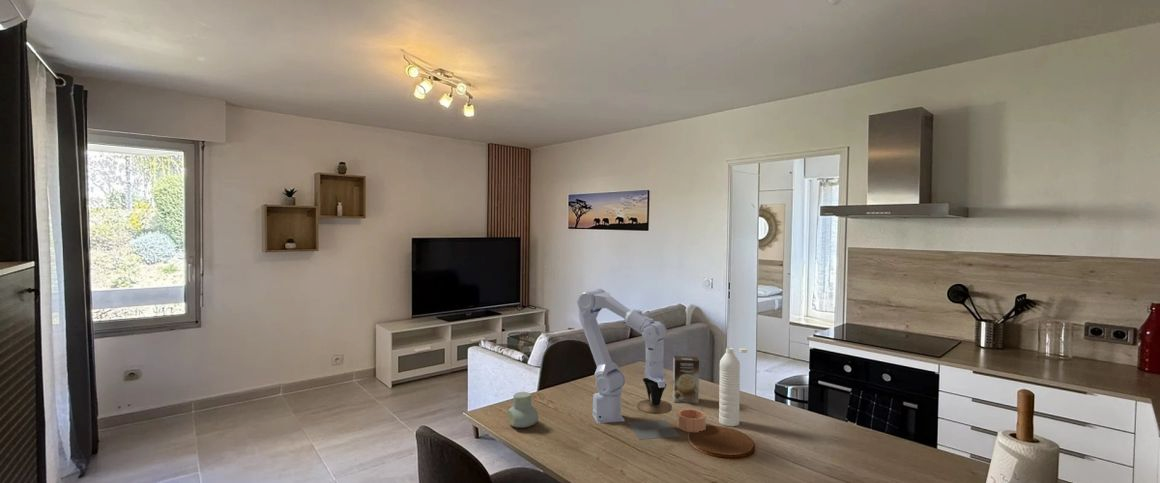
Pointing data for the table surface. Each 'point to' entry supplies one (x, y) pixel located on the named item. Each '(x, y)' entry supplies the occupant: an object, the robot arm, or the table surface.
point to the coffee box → (685, 379)
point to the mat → (653, 429)
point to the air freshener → (522, 411)
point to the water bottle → (729, 388)
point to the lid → (654, 407)
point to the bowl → (691, 420)
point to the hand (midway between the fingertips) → (654, 402)
